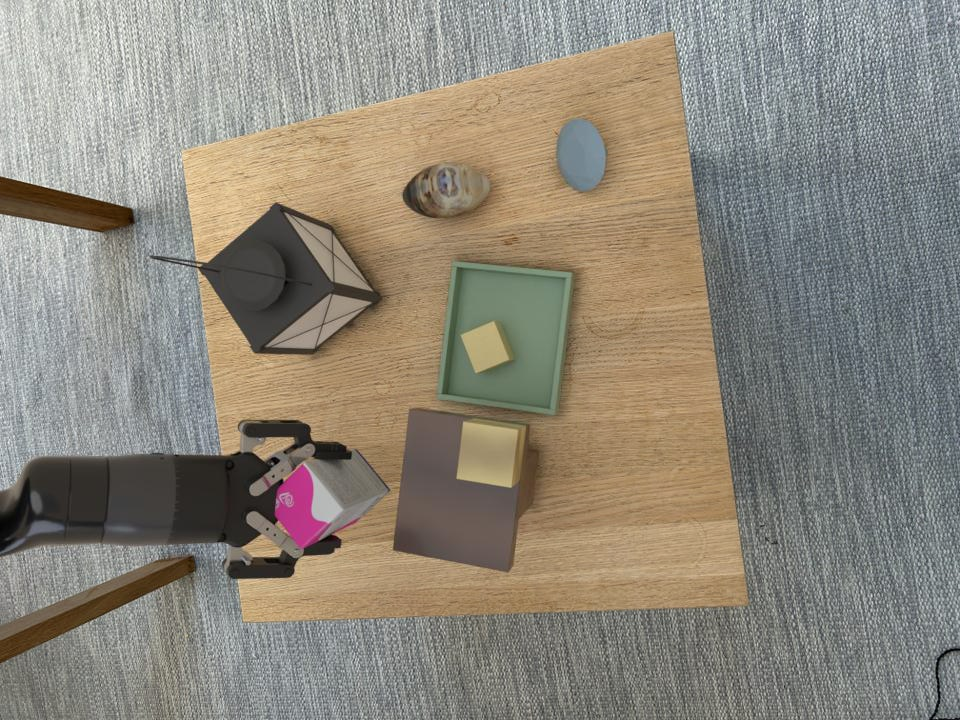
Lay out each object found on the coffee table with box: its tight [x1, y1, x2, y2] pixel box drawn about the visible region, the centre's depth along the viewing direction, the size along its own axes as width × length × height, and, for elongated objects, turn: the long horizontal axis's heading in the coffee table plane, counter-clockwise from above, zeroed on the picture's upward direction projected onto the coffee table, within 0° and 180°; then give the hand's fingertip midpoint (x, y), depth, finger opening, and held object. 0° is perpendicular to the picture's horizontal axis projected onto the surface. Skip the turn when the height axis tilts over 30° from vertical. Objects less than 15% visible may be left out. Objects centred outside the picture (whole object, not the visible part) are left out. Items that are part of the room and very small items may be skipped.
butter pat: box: [461, 321, 515, 374], centre depth 84 cm, size 4×4×4 cm
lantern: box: [149, 201, 383, 356], centre depth 77 cm, size 11×11×28 cm
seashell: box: [401, 162, 491, 219], centre depth 83 cm, size 10×6×8 cm, turn 98°
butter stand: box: [392, 407, 540, 573], centre depth 73 cm, size 12×10×26 cm
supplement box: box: [275, 448, 391, 549], centre depth 73 cm, size 6×6×12 cm
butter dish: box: [435, 260, 576, 416], centre depth 84 cm, size 15×13×3 cm
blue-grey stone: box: [555, 117, 608, 193], centre depth 82 cm, size 8×8×5 cm
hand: (343, 497), depth 73 cm, fingers closed on supplement box, 8 cm apart
